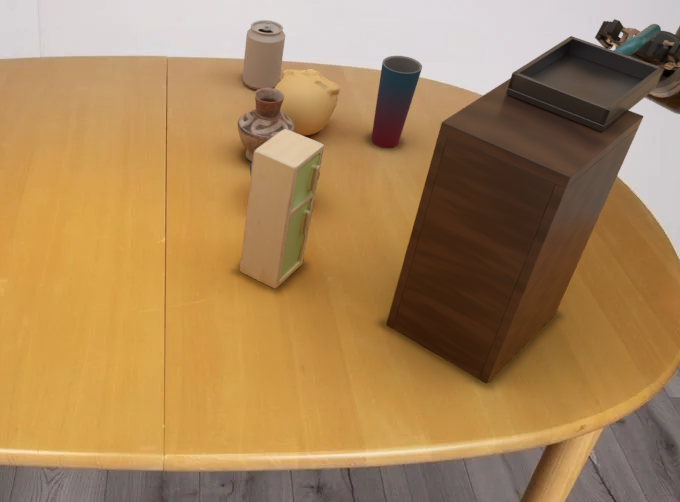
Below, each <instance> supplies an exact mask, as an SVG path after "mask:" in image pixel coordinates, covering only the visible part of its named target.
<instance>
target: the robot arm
mask: <svg viewBox="0 0 680 502" xmlns="http://www.w3.org/2000/svg"><path fill="white" fill-rule="evenodd" d="M639 32H641V30H638V29H637V28H634V27H625V26H624V25H623V23H622V22H621V21H620V20H619V19H616V18H614V19H613V20H612V21H609V20H603V22H602V24H601V25H600V27H599V29H598V31H597V33H596V35H595V36H594V39H595V40H596V41H597V42H598V43H599V44H600V46H601V47H604V48H607V49H610V50H612V49H613V47H614V46H615V49H616V48H618V47H619V46H621V45H622V44H624V43H625V42H626V41H628V40H629V39H631V38H632V37H634V36H635V35H637V34H638V33H639ZM621 33H622V36H621V37H620V35H621ZM615 49H614V50H615ZM630 57H633V58H636V59H639V60H642V61H644V62H647V63H650V64H653V65H656V66H659V67H662V68H664V71H663V73H662V75H661V77H660V80H659V82H658V83H657V86H656V88H655V89H654V90H653V91H652V92H651V93H649V94H648V95H647V96H646V97H644V98H643V99H647V100H648V101H651V102H653V103H654V104H656V105H658V106H660V107H662V108H664V109H666V110H667V111H669V112H672V113H673V114H677V115H680V25H679V26H678V28H677V29H676V31H675V33H672V32H670V31H666V30H661V32H660V34H659V35H658V36H657V37H655V38H654V39H653V40H651V41H650V42H648V43H647V44H646V45H644V46H643V47H641V48H640V49H639V50H637V51H636V52H635V53H633V54H632V55H630Z"/></svg>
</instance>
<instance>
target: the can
mask: <svg viewBox="0 0 680 502" xmlns="http://www.w3.org/2000/svg"><path fill="white" fill-rule="evenodd" d="M283 30H284V27H283V25H282V24H281V23H280V22H277V21H273V20H267V19H262V20H261V19H260V20H256V21H254V22H252V23H251V24H250V28H249V29H248V30H247V31H246V36H245V48H244V57H243V67H242V77H241V79H242V81H243V83H245V85H246V86H247V87H248V88H250V89H251V90H255V91H257V90H259V89H262V88H275V87H276V85H277V84H278V83H279V82H280V81H281V79H280V78H281V71H282V63H283V56H284V49H285V41H286V34H285V32H284V31H283Z"/></svg>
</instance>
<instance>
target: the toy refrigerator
mask: <svg viewBox="0 0 680 502" xmlns="http://www.w3.org/2000/svg"><path fill="white" fill-rule="evenodd" d="M324 151H325V145H324V144H323V143H321V142H319V141H317V140H314V139H312V138H309V137H307V136H306V135H304V136H302V135H300V134H297V133H295V132H292V131H290V130H287V129H284V130H281V131H280V132H278V133H277V134H276V135H274V136H273V137H272V138H270V139H269V140H268V141H266V142H265V143H264V144H262V145H261V146H260V147H258V148H257V149H256V150H255V151H254V154H253V162H252V161H251V162H252V170H251V177H250V180H249V188H248V197H247V205H246V214H245V222H244V230H243V238H242V246H241V255H240V263H239V272H240V273H242V274H243V275H246V276H248V277H250V278H252V279H254V280H256V281H258V282H260V283H261V284H265V285H266V286H268V287H270V288H272V289H277V288H278V287H280V286H281V285H282V284H283V283H284V282H285V281H286V280H287V279H288V278H290V276H291V275H293V274H294V273H295V272H296V270H298V268H300V267H301V266H302V265H303V263H304V259H305V254H306V253H305V252H306V247H307V242H308V236H309V230H310V224H311V219H312V214H313V209H314V204H315V199H316V192H317V187H318V184H319V183H318V182H319V179H318V177H319V178H320V176H319V172H320V173H321V166H322V161H323V160H322V159H323V154H324Z"/></svg>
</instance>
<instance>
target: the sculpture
mask: <svg viewBox="0 0 680 502" xmlns="http://www.w3.org/2000/svg"><path fill="white" fill-rule="evenodd" d="M274 89H277V90H279V91H281V92H282V93H283V94H284V100H283V102H282V105H281V108H280V111H281V112H283V113H284V114H286V115H287V116H288V117H289V118H290V119H291V120H292V121H293V123H294V125H295V130H294V132H295V133H297V134H300V135H302V136H310V135H314V134H316V133H319V132H320V131H322V130H323V129H324V128H325V126H326V125H327V124H328V122H329V120H330V119H331V117H332V115H333V113H334V111H335V109H336V107H337V106H338V105H337V104H338V99H339V97H338V96H339V95H340V91H341V88H340V87H339V85H338V84H337V83H336V82H334V81H332V80H329V79H327V78H326V77H325V76H323V75H322V73H320V72H319V71H318V70H316V69H314V68H307V69H284V70H283V71H282V78H281V79H280V80H279V83H278V84H277V85H276V86H275V87H274Z"/></svg>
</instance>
